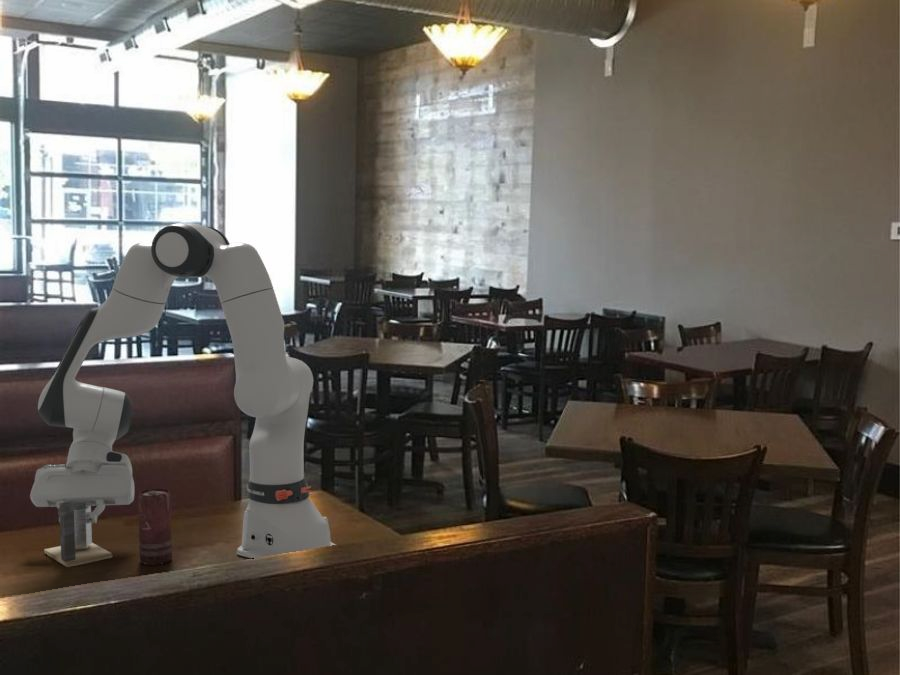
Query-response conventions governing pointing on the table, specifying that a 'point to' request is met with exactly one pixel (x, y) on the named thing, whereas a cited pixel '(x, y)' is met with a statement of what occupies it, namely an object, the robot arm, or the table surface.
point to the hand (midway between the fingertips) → (77, 522)
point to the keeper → (73, 542)
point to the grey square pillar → (82, 525)
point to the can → (155, 526)
